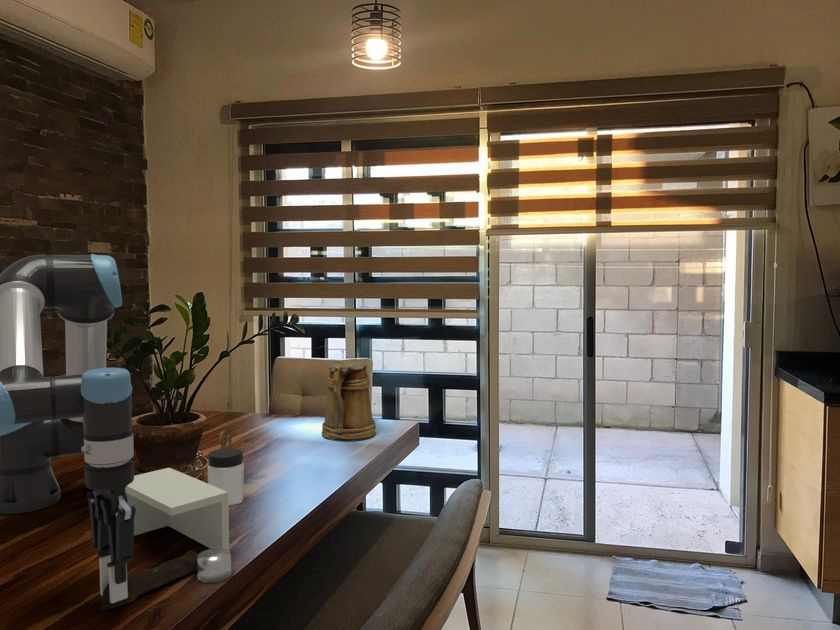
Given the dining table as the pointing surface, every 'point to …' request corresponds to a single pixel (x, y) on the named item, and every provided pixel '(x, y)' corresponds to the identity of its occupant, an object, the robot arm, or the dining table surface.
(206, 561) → the steel puck
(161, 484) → the low shelf
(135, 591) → the hand tool
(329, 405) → the tankard
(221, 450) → the jar
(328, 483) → the dining table surface
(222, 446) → the gingerbread man figurine
